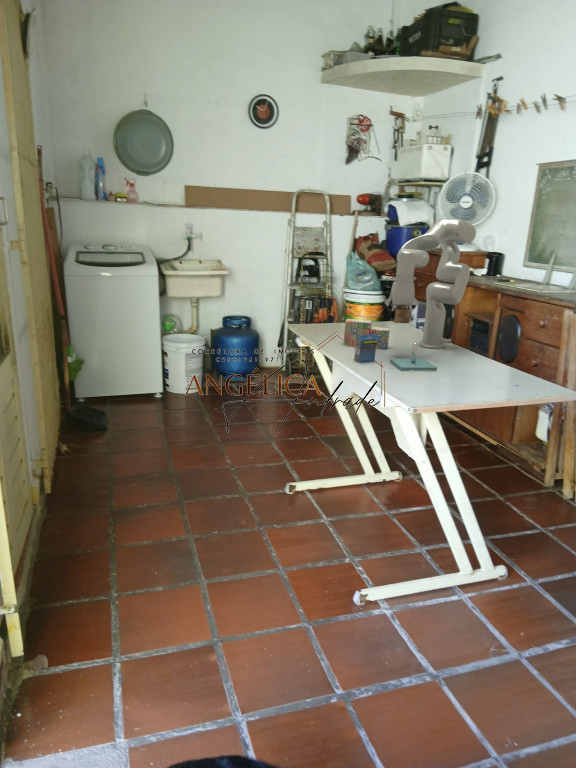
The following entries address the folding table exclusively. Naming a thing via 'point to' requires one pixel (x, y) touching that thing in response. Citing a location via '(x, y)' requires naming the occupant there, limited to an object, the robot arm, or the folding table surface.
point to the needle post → (414, 353)
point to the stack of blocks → (364, 333)
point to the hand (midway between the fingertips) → (400, 319)
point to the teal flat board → (407, 365)
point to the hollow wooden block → (402, 315)
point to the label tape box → (366, 348)
